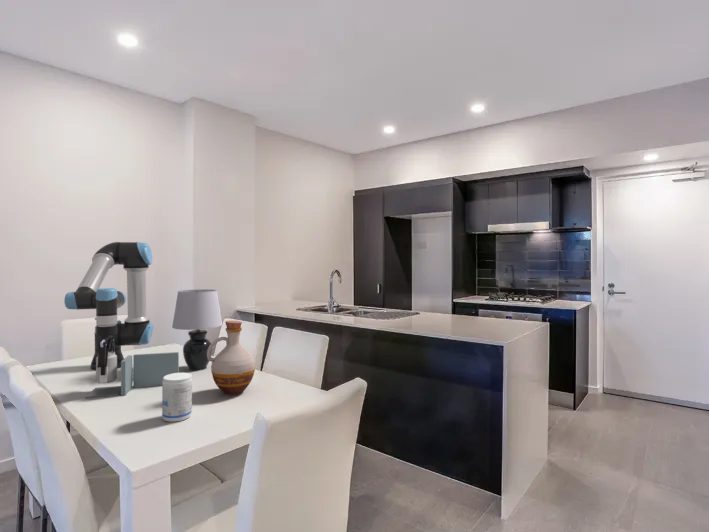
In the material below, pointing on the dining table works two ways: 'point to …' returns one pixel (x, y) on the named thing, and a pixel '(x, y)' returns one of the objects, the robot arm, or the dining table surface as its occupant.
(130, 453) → the dining table surface
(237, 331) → the jug
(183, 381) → the supplement tub
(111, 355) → the can
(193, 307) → the lamp
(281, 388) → the dining table surface
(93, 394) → the coaster
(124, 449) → the dining table surface
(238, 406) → the dining table surface
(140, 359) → the screen
